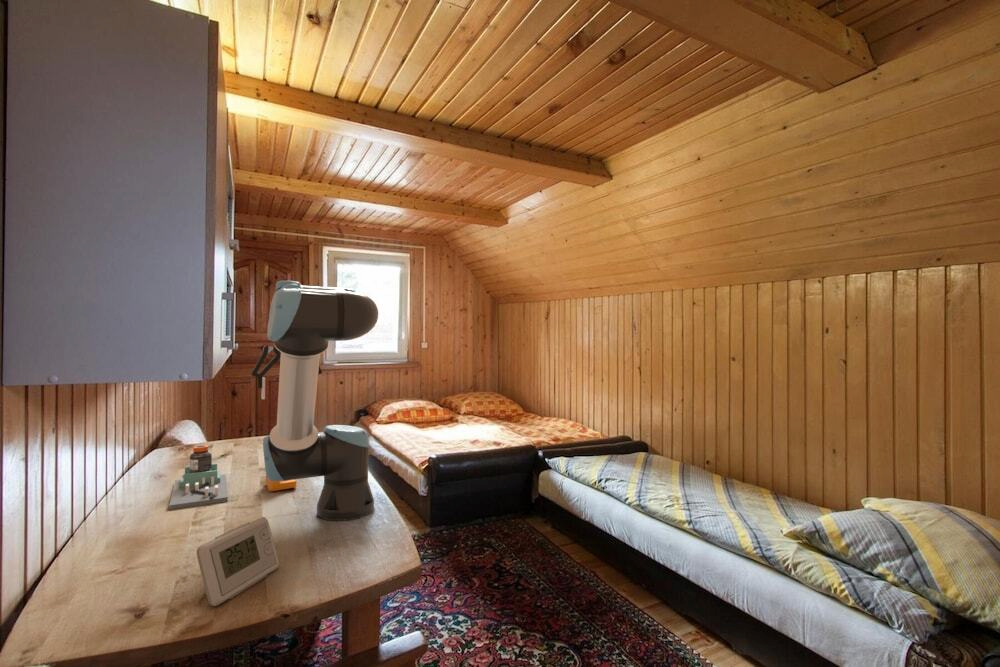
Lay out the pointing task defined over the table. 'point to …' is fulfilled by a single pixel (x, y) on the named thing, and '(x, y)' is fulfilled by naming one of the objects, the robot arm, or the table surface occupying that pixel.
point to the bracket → (280, 484)
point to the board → (187, 499)
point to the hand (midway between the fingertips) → (287, 397)
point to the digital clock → (237, 560)
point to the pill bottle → (200, 459)
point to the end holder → (199, 477)
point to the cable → (202, 491)
